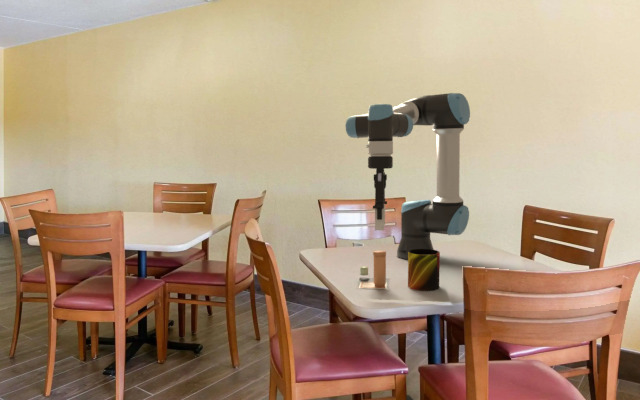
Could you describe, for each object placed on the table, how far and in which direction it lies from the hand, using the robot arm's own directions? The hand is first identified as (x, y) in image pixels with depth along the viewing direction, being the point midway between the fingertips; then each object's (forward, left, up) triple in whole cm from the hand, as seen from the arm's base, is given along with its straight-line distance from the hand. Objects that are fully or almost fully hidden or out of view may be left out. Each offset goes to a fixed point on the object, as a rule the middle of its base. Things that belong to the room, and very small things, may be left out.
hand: (380, 227), depth 152 cm
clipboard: (+2, -4, -20) cm, 20 cm away
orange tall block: (0, 0, -19) cm, 19 cm away
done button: (+6, -8, -17) cm, 20 cm away
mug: (-12, -3, -20) cm, 24 cm away
